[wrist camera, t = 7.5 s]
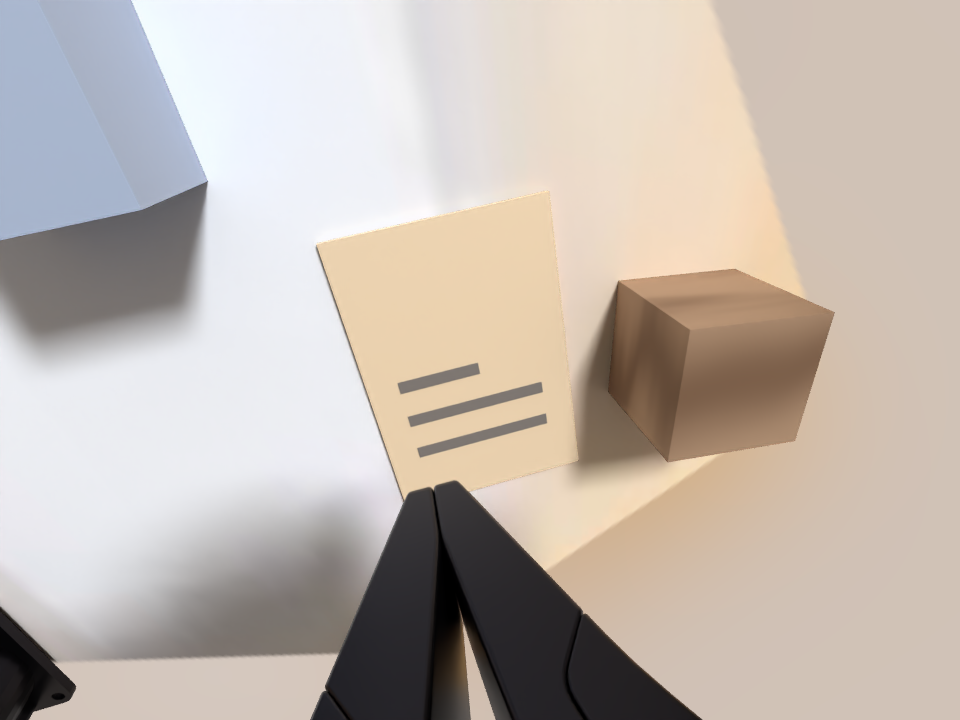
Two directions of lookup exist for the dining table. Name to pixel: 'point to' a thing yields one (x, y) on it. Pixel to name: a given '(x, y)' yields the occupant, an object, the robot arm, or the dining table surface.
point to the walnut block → (714, 361)
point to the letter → (461, 342)
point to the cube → (84, 117)
